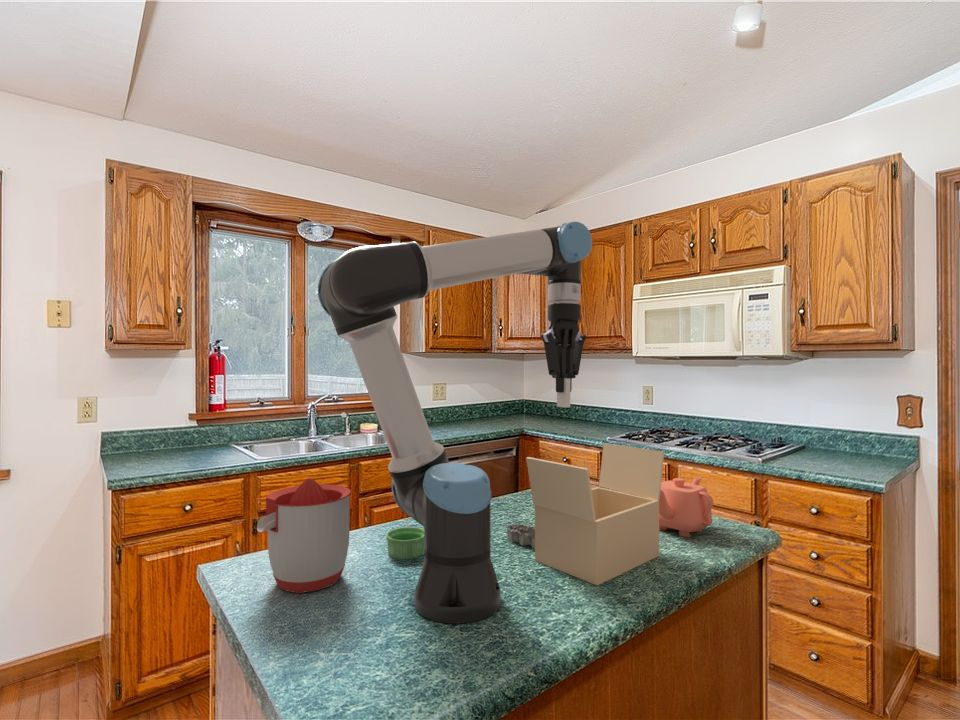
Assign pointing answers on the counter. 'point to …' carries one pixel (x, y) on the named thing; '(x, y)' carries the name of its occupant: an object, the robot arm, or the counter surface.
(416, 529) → the ramekin
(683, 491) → the teapot
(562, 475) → the near flap
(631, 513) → the carton
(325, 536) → the citrus juicer
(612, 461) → the far flap
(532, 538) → the egg carton
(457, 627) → the counter surface
